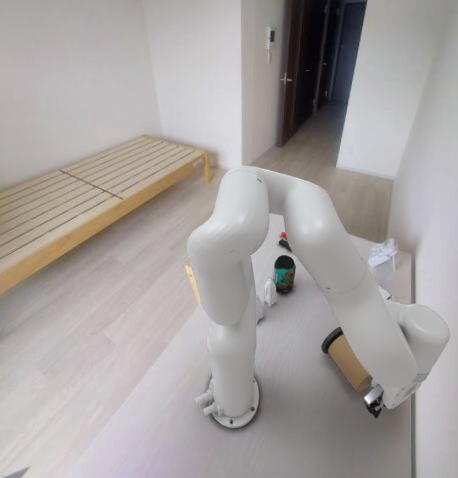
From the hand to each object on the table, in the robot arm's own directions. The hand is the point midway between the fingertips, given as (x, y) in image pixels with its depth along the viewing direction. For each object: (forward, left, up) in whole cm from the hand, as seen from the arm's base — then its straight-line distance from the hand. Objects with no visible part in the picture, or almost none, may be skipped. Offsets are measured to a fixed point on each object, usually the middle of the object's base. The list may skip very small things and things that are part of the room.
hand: (386, 398), depth 61 cm
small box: (+14, +17, -6) cm, 23 cm away
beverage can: (-1, +38, -6) cm, 39 cm away
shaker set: (-11, +34, -6) cm, 37 cm away
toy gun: (+15, +55, -6) cm, 57 cm away
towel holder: (0, +7, -5) cm, 9 cm away
